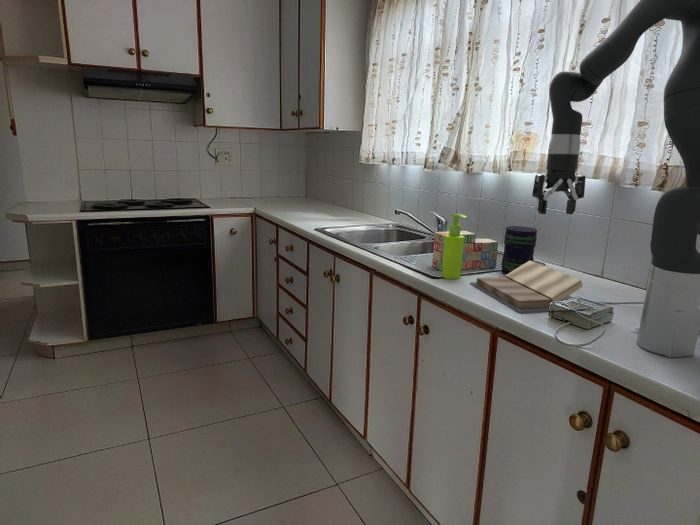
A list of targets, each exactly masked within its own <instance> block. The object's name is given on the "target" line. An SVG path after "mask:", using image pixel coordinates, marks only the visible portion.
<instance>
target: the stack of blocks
mask: <svg viewBox="0 0 700 525" xmlns="http://www.w3.org/2000/svg"><path fill="white" fill-rule="evenodd" d="M448 234H449V231H434V235H433V236H434V237H433V246H432V252H433V253H432V264H431V266H432V267H433V268H435V269H437V270H438V269H439V270H438V271H440V270H442V264H443V251H444V239H445V235H448ZM460 235H461V236H464V244H463V255H462V266H461V269H464V270H472V269H471V268H481V269H488V268H487V267H497V258H498V246H499V242H498V241H496V240H494V239H490V238H476V237H477V236H476V235H477V233H474V232H470V231H467V230H461V231H460Z"/></svg>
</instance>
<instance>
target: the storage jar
mask: <svg viewBox="0 0 700 525" xmlns="http://www.w3.org/2000/svg"><path fill="white" fill-rule="evenodd" d="M537 233H538V229H537V228H534V227H528V226H519V225H517V226H516V225H510V226H506V227H505V233H504V241H503V242H504V243H503V244H504V250H503V255H502V258H501V270H500V272H501V274H503V275H504V276H505V275H507V274H509V273H510V272H512V271H513V270H515V269H517V268H518V267H520V266H522V265H523V264H525V263H526V262H528V261H533V262H535V261H534V260H535V259H534V252H535V248H536V246H537V244H536V243H537Z"/></svg>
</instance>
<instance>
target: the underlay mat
mask: <svg viewBox="0 0 700 525" xmlns="http://www.w3.org/2000/svg"><path fill="white" fill-rule="evenodd" d="M476 283H477V281H472V282H469V285H471V286H473V287H475V288H476V289H478V290H479V291H481V292H483V293H484V294H486V295H488V296H490V297H491V298H493V299H495V300H497V301H498V302H500V303H502V304H503V305H505V306H506V307H508V308H509V309H510V310H513V311H515V312H516V313H518V314H531V313H532V314H534V313H549V312H548V311H549V307H541V308H522V309H519V308H517V307H515V306H513V305H512V304H510V303H508V302H506V301H505V300H503V299H501V298H499V297H498V296H496V295H494V294H492V293H491V292H489V291H487V290H486V289H484V288H482V287H480V286H479V285H477V284H476ZM573 297H574V296H571V295H569V296H567V297H566V298H564V299H562V300H561V301H563V300H568V299H571V298H573Z"/></svg>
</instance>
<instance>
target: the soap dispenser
mask: <svg viewBox="0 0 700 525" xmlns="http://www.w3.org/2000/svg"><path fill="white" fill-rule="evenodd" d="M450 217H452V222H451V223H450V224H449V230H448V232H449V234H448V235H445V239H444V251H443V264H442V271H441V278H443V277H444V279H447V280H460V279H461V275H462V270H461V266H462V255H463V244H464V236H461V235H460V231H462V230H461V229H462V225H461V224H460V223H459V220H460V219H467V218H468V216H467V215H466V214H463V213H462V214H461V213H451V214H450Z"/></svg>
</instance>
